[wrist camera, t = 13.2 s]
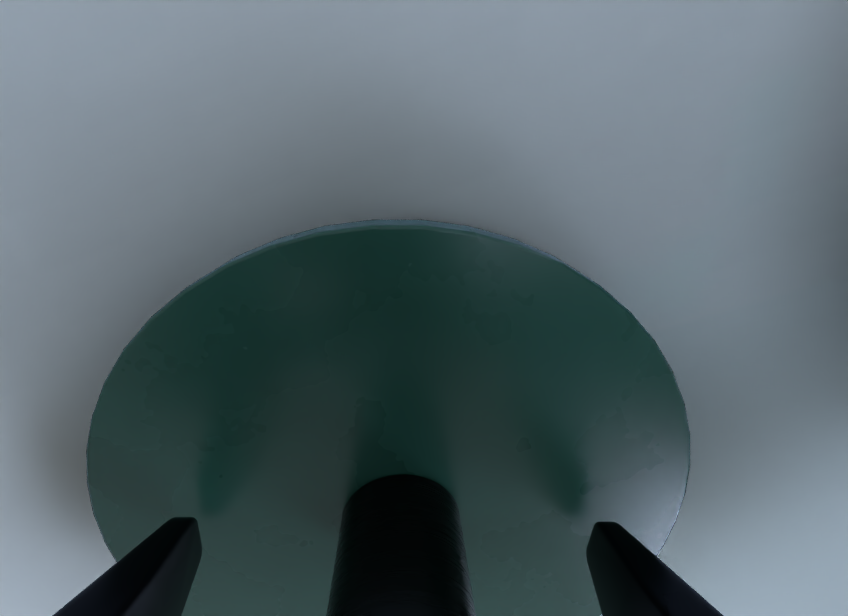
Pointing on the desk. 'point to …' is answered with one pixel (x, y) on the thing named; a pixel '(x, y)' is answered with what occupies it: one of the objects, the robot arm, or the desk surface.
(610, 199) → the desk surface
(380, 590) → the tin lid
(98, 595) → the robot arm
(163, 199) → the desk surface
